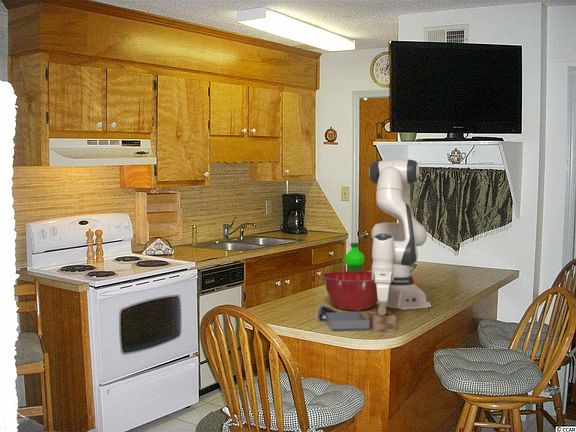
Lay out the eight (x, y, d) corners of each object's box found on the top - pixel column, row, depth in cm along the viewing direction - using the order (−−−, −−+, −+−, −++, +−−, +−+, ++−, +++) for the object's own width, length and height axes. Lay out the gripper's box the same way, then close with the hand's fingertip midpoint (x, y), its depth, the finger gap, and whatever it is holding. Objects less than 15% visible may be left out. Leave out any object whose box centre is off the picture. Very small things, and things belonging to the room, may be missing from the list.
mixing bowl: (312, 304, 299) (313, 271, 298) (366, 299, 309) (366, 268, 308) (338, 317, 273) (338, 282, 271) (395, 312, 283) (396, 278, 281)
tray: (360, 321, 266) (360, 311, 266) (369, 330, 251) (369, 320, 251) (325, 322, 264) (325, 312, 264) (332, 331, 250) (332, 321, 249)
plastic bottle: (343, 291, 329) (343, 244, 327) (346, 287, 339) (346, 241, 337) (362, 292, 326) (363, 244, 324) (364, 288, 337) (365, 242, 335)
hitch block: (389, 325, 259) (389, 311, 258) (396, 331, 250) (396, 316, 249) (368, 326, 258) (368, 312, 257) (373, 332, 249) (374, 317, 248)
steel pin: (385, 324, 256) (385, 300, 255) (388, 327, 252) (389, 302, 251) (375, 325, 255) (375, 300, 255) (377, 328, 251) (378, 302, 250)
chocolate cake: (343, 318, 273) (323, 299, 274) (347, 317, 266) (327, 297, 267) (328, 334, 271) (309, 315, 271) (332, 334, 264) (311, 314, 264)
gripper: (374, 270, 263) (374, 303, 264) (374, 279, 242) (374, 314, 243) (390, 270, 262) (389, 303, 263) (391, 279, 242) (390, 315, 243)
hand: (382, 309), depth 253 cm, fingers closed on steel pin, 3 cm apart
